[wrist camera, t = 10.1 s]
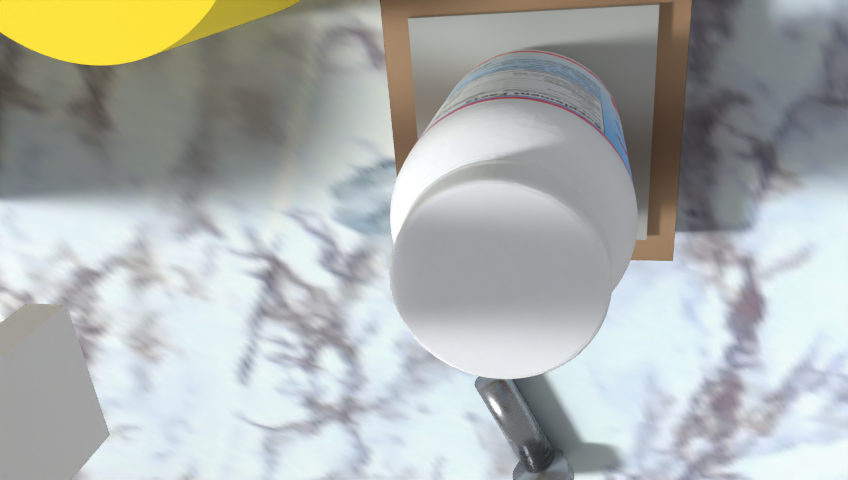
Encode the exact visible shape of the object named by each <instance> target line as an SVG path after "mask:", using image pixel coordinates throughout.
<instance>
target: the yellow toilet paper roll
mask: <svg viewBox="0 0 848 480" xmlns="http://www.w3.org/2000/svg"><path fill="white" fill-rule="evenodd" d="M299 1H301V0H0V32H1V33H2V34H4V35H5V36H7V37H8V38H10V39H12V40H14V41H15V42H17V43H19V44H21V45H23V46H25V47H27V48H29V49H31V50H33V51H36V52H38V53H41V54H43V55H46V56H49V57H52V58H55V59H59V60H62V61H67V62H71V63H77V64H85V65H116V64H123V63H129V62H133V61H137V60H140V59H143V58H146V57H149V56H152V55H155V54H158V53H161V52H164V51H167V50H169V49H172V48H175V47H178V46H181V45H184V44H187V43H190V42H192V41H195V40H198V39H201V38H204V37H207V36H210V35H213V34H216V33H218V32H221V31H224V30H227V29H230V28H233V27H236V26H239V25H241V24H244V23H247V22H250V21H253V20H256V19H259V18H262V17H265V16H267V15H270V14H273V13H276V12H279V11H282V10H284V9H286V8H288V7H290V6H292V5H294V4H296V3H298V2H299Z"/></svg>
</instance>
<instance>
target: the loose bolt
mask: <svg viewBox="0 0 848 480" xmlns="http://www.w3.org/2000/svg"><path fill="white" fill-rule="evenodd" d="M475 387H476V389H477V390H478V392H479V394H480V395H481V397H482V399H483V401H484V402H485V404H486V406H487V407H488V409H489V411H490V412H491V414H492V416H493V417H494V419H495V421H496V422H497V424H498V426H499V427H500V429H501V431H502V432H503V434H504V436H505V437H506V439H507V441H508V442H509V444H510V446H511V447H512V449H513V451H514V452H515V454H516V456H517V457H518V459H519V462H518V464H517V465H516V467H515V469H514V472H513V480H574V472H573V470H572V468H571V466H570V464H569V463H568V461H567V459H566V457H565V456H564V454H563V452H562V451H561V450H559V449H558V448H555V447H551V445H550V443H549V441H548V440H547V438H546V436H545V434H544V433H543V431H542V429H541V428H540V426H539V424H538V422H537V421H536V419H535V417H534V415H533V414H532V412H531V410H530V409H529V407H528V405H527V403H526V402H525V400H524V398H523V396H522V395H521V393H520V391H519V389H518V388H517V386H516V384H515V383H514V381H513V379H495V378H487V377H481V376H479V377H478V378H477V379H476V381H475Z"/></svg>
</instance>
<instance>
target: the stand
mask: <svg viewBox="0 0 848 480" xmlns="http://www.w3.org/2000/svg"><path fill="white" fill-rule="evenodd" d="M691 5H692V0H380V6H381V16H382V26H383V36H384V47H385V57H386V67H387V78H388V88H389V98H390V109H391V119H392V129H393V140H394V150H395V160H396V170H397V177H398V174H399V172H400V170H401V168H402V166H403V164H404V162H405V160H406V158H407V156H408V155H409V153H410V151H411V150H412V148H413V147H414V145H415V144H416V142H417V141H418V140H419V138H420V137H421V135H422V134H423V132H424V131H425V129H426V128H427V127H428V125H429V124H430V122H431V121H432V119H433V118H434V116H435V115H436V113H437V112H438V110H439V109H440V108H441V106H442V105H443V103H444V102H445V101H446V99H447V98H448V96H449V95H450V93H451V92H452V90H453V89H454V88H455V86H456V85H457V84H458V83H459V81H460V80H461V79H462V78H463V77H464V76H465V75H466V74H467V73H468V72H469V71H471V70H472V69H473V68H474V67H476V66H477V65H478V64H480V63H482V62H483V61H485V60H487V59H489V58H491V57H493V56H496V55H499V54H502V53H505V52H509V51H515V50H541V51H547V52H553V53H556V54H560V55H563V56H566V57H568V58H571V59H573V60H575V61H577V62H579V63H580V64H582V65H584V66H585V67H587V68H588V69H589V70H591V71H592V72H593V73H594V74H595V75H596V76H597V77H598V78H599V79H600V80H601V81H602V82H603V84H604V85H605V86H606V88H607V89H608V91H609V92H610V94H611V96H612V98H613V99H614V102H615V104H616V107H617V110H618V113H619V116H620V120H621V124H622V130H623V135H624V139H625V145H626V149H627V154H628V160H629V165H630V169H631V175H632V181H633V185H634V190H635V194H636V201H637V211H638V229H637V236H636V243H635V247H634V250H633V254H632V257H631V260H656V261H673V252H674V238H675V225H676V211H677V197H678V184H679V170H680V156H681V142H682V129H683V115H684V101H685V87H686V74H687V60H688V46H689V33H690V19H691Z"/></svg>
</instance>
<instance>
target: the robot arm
mask: <svg viewBox="0 0 848 480" xmlns="http://www.w3.org/2000/svg"><path fill="white" fill-rule="evenodd" d="M109 435H110V434H109V431H108V428H107V425H106V422H105V419H104V416H103V413H102V410H101V407H100V404H99V401H98V398H97V395H96V392H95V389H94V386H93V383H92V380H91V377H90V374H89V372H88V369H87V366H86V363H85V360H84V357H83V354H82V351H81V348H80V345H79V342H78V339H77V336H76V333H75V330H74V327H73V324H72V321H71V318H70V315H69V312H68V309H67V306H66V305H52V304H26V305H24V306H23V307H22V308H20V309H19V310H18V311H16V312H15V313H14V314H12V315H11V316H10V317H8V318H7V319H6V320H4V321H3V322H2V323H0V480H71V479H72V478H73V477H74V476H75V475H76V474H77V472H78V471H79V470H80V469H81V468H82V467H83V465H84V464H85V463H86V462H87V461H88V460H89V458H90V457H91V456H92V455H93V454H94V452H95V451H96V450H97V449H98V448H99V447H100V445H101V444H102V443H103V442H104V441H105V440H106V438H107V437H108V436H109Z"/></svg>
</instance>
